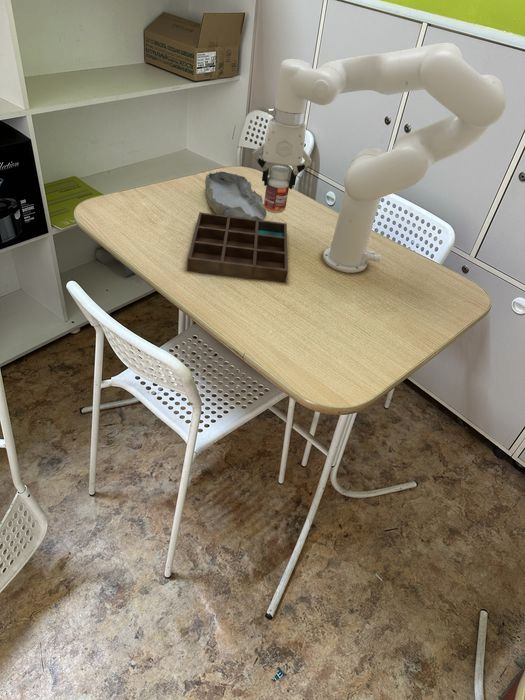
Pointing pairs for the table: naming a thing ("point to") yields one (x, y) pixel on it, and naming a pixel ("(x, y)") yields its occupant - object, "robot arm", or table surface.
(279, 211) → the pill bottle
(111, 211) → the table surface
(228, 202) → the stone
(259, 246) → the grid board
